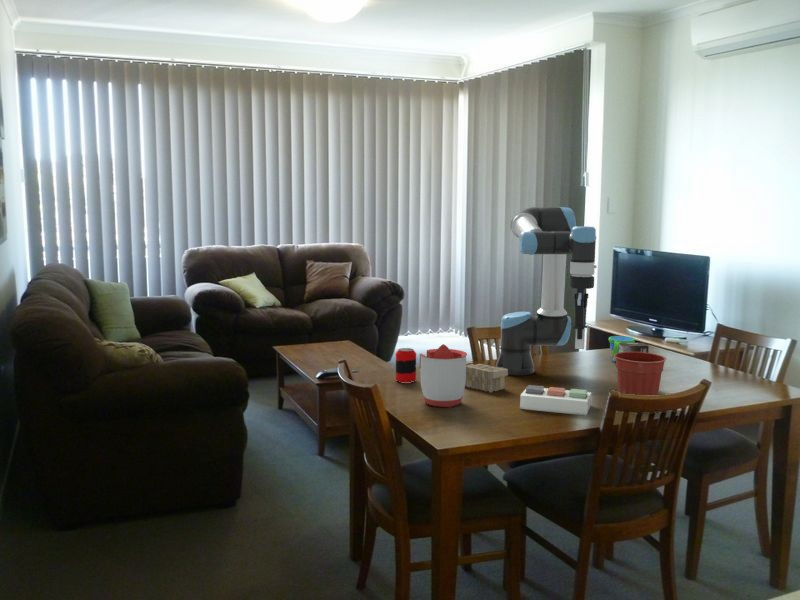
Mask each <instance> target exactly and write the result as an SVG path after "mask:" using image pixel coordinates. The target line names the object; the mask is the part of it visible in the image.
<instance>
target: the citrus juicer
mask: <svg viewBox="0 0 800 600" xmlns="http://www.w3.org/2000/svg"><path fill="white" fill-rule="evenodd" d="M467 353H468V352H466V351H464V350H461V349H460V350H459V349H452V348H449V347H448V346H447V345H446V344H441V345H440V346H439V347H438V348H433V349H426V355H425V354H423V353H419V362H416V368H417V367H419V369H420V386H421V391H422V395H423V400H424V402H425V403H426V404H427V405H428V404H429V405H428V406H433V407H445V408H451V407H454V406H457V405H460V404H461V402H462V401H463V397H464V392H465V388H466V387H465V384H466V361H467V356H468V354H467Z"/></svg>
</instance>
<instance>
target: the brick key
mask: <svg viewBox="0 0 800 600" xmlns="http://www.w3.org/2000/svg"><path fill="white" fill-rule="evenodd" d="M565 390H566V388H565V387H557V386H556V387H554V386H550V387H549V388H548V390H547V395H550V396H561V397H564V395H565Z"/></svg>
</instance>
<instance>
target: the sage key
mask: <svg viewBox="0 0 800 600" xmlns="http://www.w3.org/2000/svg"><path fill="white" fill-rule="evenodd" d="M587 392H588V390H587V389H578V388H570V392H569V397H572V398H583V399H586V397H587Z"/></svg>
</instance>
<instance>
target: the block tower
mask: <svg viewBox="0 0 800 600" xmlns="http://www.w3.org/2000/svg"><path fill="white" fill-rule="evenodd" d="M508 376H509V375H508V369H504V368H499V367H496V366H492V365H488V364H484V363H477V364H474V362H472V361H467V360H466V384H465V386H469V387H468V388H470V387H473V388H472V389H474V388H477V389H476V390H478V389H481V390H480V391H482V390H485V391H484V392H487V391H489V392H488V393H494V392H493V391H495V392H498V391H500V390H504V389H505V377H508Z"/></svg>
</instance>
